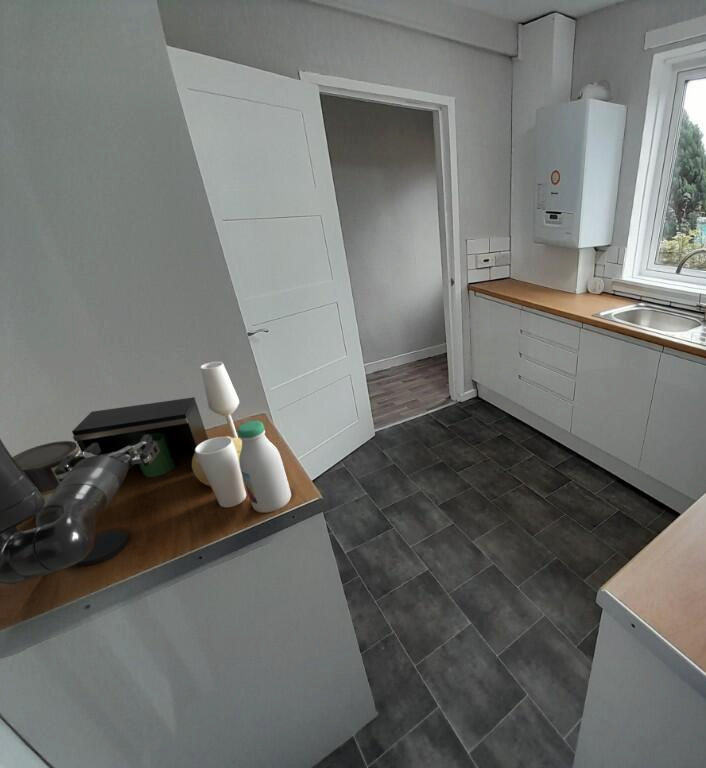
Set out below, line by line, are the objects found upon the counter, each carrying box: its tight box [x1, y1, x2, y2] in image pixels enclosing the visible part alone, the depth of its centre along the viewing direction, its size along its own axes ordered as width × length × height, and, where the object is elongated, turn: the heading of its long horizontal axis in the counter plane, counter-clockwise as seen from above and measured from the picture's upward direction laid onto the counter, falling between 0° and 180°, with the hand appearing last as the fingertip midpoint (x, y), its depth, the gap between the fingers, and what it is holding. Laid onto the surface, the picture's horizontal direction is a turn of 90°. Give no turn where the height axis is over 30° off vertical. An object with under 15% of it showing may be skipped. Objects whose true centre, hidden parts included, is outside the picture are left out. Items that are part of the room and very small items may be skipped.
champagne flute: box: [199, 361, 240, 438], centre depth 107 cm, size 7×7×24 cm
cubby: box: [71, 396, 209, 466], centre depth 99 cm, size 20×10×16 cm, turn 115°
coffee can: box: [12, 440, 81, 517], centre depth 86 cm, size 10×10×14 cm
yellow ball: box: [191, 435, 243, 487], centre depth 97 cm, size 11×12×11 cm
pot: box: [131, 433, 176, 478], centre depth 100 cm, size 6×6×9 cm
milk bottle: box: [236, 420, 292, 514], centre depth 88 cm, size 8×8×20 cm
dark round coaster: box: [74, 529, 130, 567], centre depth 78 cm, size 8×8×1 cm
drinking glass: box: [195, 436, 247, 508], centre depth 89 cm, size 7×7×15 cm
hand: (123, 442), depth 87 cm, fingers open, 8 cm apart
